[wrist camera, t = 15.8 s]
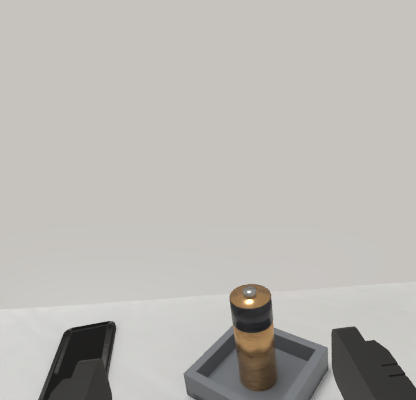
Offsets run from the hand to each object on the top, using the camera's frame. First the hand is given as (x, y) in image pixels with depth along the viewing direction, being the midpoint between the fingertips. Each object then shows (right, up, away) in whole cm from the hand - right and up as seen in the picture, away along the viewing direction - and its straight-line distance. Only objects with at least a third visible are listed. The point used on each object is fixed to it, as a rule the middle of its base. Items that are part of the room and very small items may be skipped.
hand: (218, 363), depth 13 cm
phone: (-18, -17, +37) cm, 44 cm away
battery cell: (+5, -15, +30) cm, 34 cm away
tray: (+6, -16, +30) cm, 34 cm away
